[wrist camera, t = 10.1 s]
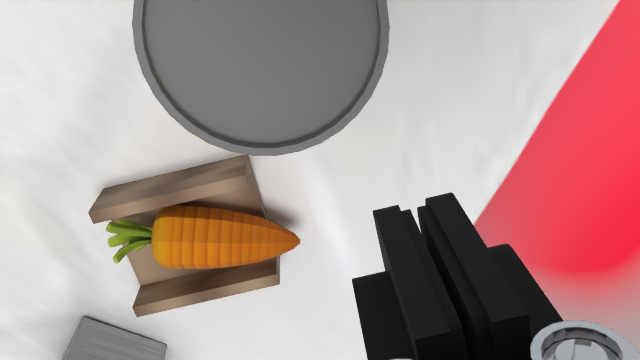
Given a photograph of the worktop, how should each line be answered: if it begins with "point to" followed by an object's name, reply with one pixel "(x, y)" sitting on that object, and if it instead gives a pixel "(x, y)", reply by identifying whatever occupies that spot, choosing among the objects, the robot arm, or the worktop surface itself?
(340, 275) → the worktop surface
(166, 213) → the carrot
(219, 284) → the walnut U-rest
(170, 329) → the worktop surface
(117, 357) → the skincare box
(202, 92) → the reusable coffee cup
